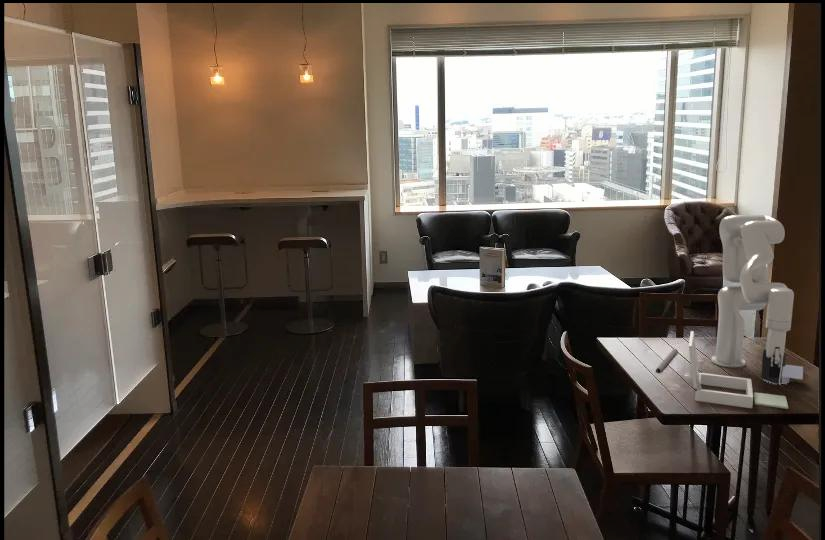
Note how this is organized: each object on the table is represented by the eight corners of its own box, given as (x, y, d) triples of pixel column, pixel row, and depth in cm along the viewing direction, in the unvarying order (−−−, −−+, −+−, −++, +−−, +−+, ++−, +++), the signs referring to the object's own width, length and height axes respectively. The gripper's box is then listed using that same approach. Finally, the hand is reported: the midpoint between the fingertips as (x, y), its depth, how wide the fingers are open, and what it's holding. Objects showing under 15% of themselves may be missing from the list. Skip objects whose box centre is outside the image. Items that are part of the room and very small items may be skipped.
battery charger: (785, 383, 229) (788, 351, 226) (777, 385, 227) (781, 353, 225) (767, 376, 235) (770, 345, 232) (759, 378, 233) (762, 347, 231)
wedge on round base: (800, 379, 251) (762, 374, 257) (802, 362, 250) (763, 357, 256) (801, 388, 243) (761, 382, 249) (803, 370, 242) (763, 365, 248)
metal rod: (677, 353, 283) (677, 349, 282) (660, 373, 261) (661, 368, 260) (672, 352, 284) (673, 348, 283) (655, 372, 262) (656, 367, 261)
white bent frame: (687, 381, 252) (690, 330, 247) (750, 389, 243) (755, 337, 239) (684, 399, 236) (688, 345, 231) (752, 408, 227) (757, 352, 223)
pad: (753, 393, 239) (753, 392, 239) (785, 397, 235) (785, 396, 235) (754, 404, 230) (755, 402, 230) (787, 408, 226) (788, 407, 226)
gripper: (764, 316, 236) (759, 364, 239) (767, 329, 220) (762, 380, 224) (788, 318, 233) (783, 367, 236) (793, 332, 217) (787, 384, 221)
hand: (773, 373), depth 230 cm, fingers closed on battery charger, 6 cm apart
